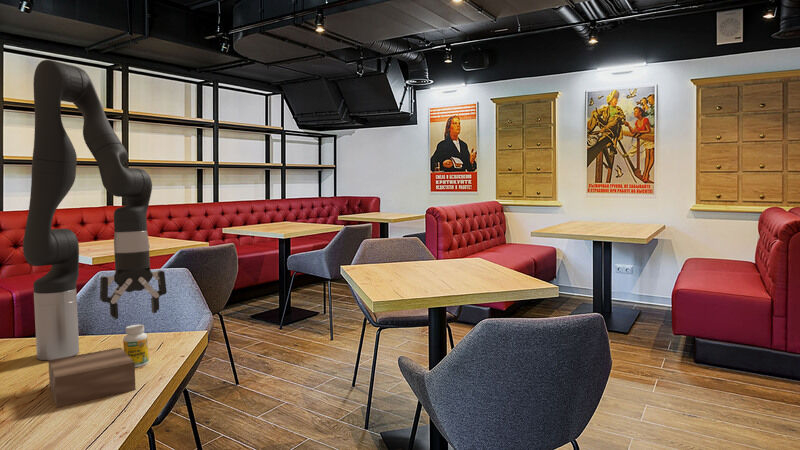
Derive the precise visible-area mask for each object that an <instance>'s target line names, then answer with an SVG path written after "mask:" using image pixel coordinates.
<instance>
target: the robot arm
mask: <svg viewBox="0 0 800 450" xmlns="http://www.w3.org/2000/svg"><path fill="white" fill-rule="evenodd" d="M33 73H34V75H33V103H34V105H33V107H34V134H33V135H34V137H33V138H34V140H33V151H32V157H31V159H32V160H31V185H30V197H29V206H28V211H27V212H28V213H27V219H26V223H25V228H24V235H23V242H22V243H23V244H22V251H23V257H24V260H25V261H26V263H27V264H29V265H30V266H33V267H43V266H44V267H45V266H51V268H50V269H49V271H48V272H47V273H46V274H45V275H43V276H41V277H39V278H37V279H36V280H34V282H33V284H32V285H33V303H34V323H35V325H34V326H35V342H36V343H35V347H36V359H37V360H40V361H48V360H52V359H58V358H64V357H70V356H75V355H78V354H79V353H80V341H79V340H80V339H79V338H80V337H79V319H78V318H79V316H78V315H79V314H78V297H77V296H78V295H77V283H78V280H79V276H80V275H79V274H80V272H79V269H80V268H79V267H80V265H79V264H80V261H79V260H80V246H79V245H80V244H79V240H78V237H77V235H76V234H75V232H74V231H73V230H71V229H69V228H53V229H52V226H53V225H52V224H53V219H54V216H55V214H56V213H55V212H56V211H57V209H58V207H59V205H61V202H62V201H63V200H64V199H65V197H66V196H67V195H68V193H69V192H70V191H71V188H72V187H73V186H74V184H75V180H76V175H77V174H76V173H77V165H78V163H77V162H78V161H77V160H78V158H77V152H76V150H75V147H74V144H73V143H72V140H71V139H70V137H69V135H68V133H67V131H66V129H65V127H64V125H63V120H62V114H61V113H62V109H61V106H62V105H61V104H62V102H66V103H72V104H74V106H75V107H76V108H77V109H78V111H79V112H80V113H81V115H82V117H83V118H82V119H83V126H82V137H83V140H84V143H85V145H86V147H87V148H88V150H89V152H90V153H91V155H92V156H93V158H94V160H95V161H96V163H97V167H98V171H99V174H100V178H101V183H102V185H103V187H104V189H105V190H106V191H107V192H108V193H109V194H111V195H112V196H114V197H117V198H125V197H126V198H127V199H126V202H125V205H124V206H120V207H117V208H116V209H115V210H114V212H113V224H114V225H113V226H114V227H113V228H114V229H113V230H114V236H113V248H114V249H113V251H114V252H113V253H114V267H115V268H114V270H115V271H114V272H115V273H114V275H111V276H105V275H103V276H101V277H100V279H99V280H100V282H99V285H100V287H99V288H100V289H99V300H100V301H101V302H102V303H107V304H109V314H110V317H111V318H113V319H114V320H118V319H119V308H118V307H119V305H118V300H119V299H120V298H121V297H122V296H123V294H124V293H125V292H126V293H133V292H134V291H135V292H136V291H137V292H140V291H143V290H145V291H146V292H147V293H148V294H149V295H151V297H150V303H151V304H150V305H151V313H152V314H156V313H157V312H158V311H159V310H160V300H159V299H160V297H161V296H163V295H166V294H167V291H168V290H167V283H166V274H165V271H164V270H160V269H158V270H157V271H153V272H152V270H151V260H150V242H149V235H148V225H147V223H148V221H147V213H148V209H149V206H150V205H149V204H150V200H151V195H152V192H153V191H152V190H153V183H152V182H153V181H152V179H151V175H150V174H149V173H148V171H146V170H144V169H143V168H135V167H125V166H123V165H124V164H125V163H126V162H127V160H128V157H129V154H128V152H127V149H126V148H125V146H124V145H123V142H121V140H120V138H119V137H118V136H117V134H116V132H115V130H114V128H113V127H112V126H111V124H110V121H109V119H108V117H107V116H106V113H105V111H104V108H103V105H102V103H101V100H100V98H99V95H98V93H97V90H96V88H95V86H94V83H93V81H92V79H91V77H90V75H89V74H88V73H87V71H85V70H84V69H83V68H82V67H81V68H80V67H79V66H76V65H71V64H68V63H64V62H60V61H56V60H52V59H43V60H42V61H40V62H39V63H38V64H37V65H36V67H35V70H34V72H33ZM153 277H154V279H155V280H157V284H158V290H156V289H154V287H153V286H152V284H151V285H150V282H151V280H152V279H153ZM112 282H114V283H116V285H117V287H116V288H115V289H114V291H113V293H112V294H111V295H110V296H109V286H111V284H112Z"/></svg>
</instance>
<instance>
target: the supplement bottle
mask: <svg viewBox="0 0 800 450" xmlns="http://www.w3.org/2000/svg"><path fill="white" fill-rule="evenodd" d="M125 333H126V335H124V337H123V344H122V345H123V350H124V351H125V352H126V354H127V355H128V356H129V357H130V358H131V359H132V360H133V361H134V363H135V369H136V368H141V367H144V366H146V365H148V363H149V362H150V359H149V358H150V357H149V339H148V336H149V335H148V334H147V333H146V332H145V325H144V324H132V325H127V326H126V327H125Z"/></svg>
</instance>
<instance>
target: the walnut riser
mask: <svg viewBox="0 0 800 450" xmlns="http://www.w3.org/2000/svg"><path fill="white" fill-rule="evenodd" d="M47 361H48V377H49V378H48V380H49V389H50V393H51V395H52V396H53V400H54V403H55V406H56V408H62V407H66V406H70V405H74V404H78V402H79V403H83V401H84V402H86V401H87V400H88V401H91V400H97V399H102V398H105V397H110V396H114V395H117V394H123V393H128V392H132V391H136V390H137V389H136V370H135V369H136V368H135V363H134V361H133V360H132V359H131V358H130V357H129V356H128V355H127V354H126V352H125V351H124V348H122V347H117V348H116V347H115V348H110V349H105V350H104V349H103V350H99V351H93V352H87V353H82V354H76V355H73V356H70V357H64V358H58V359H52V360H47ZM88 401H87V402H88Z"/></svg>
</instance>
